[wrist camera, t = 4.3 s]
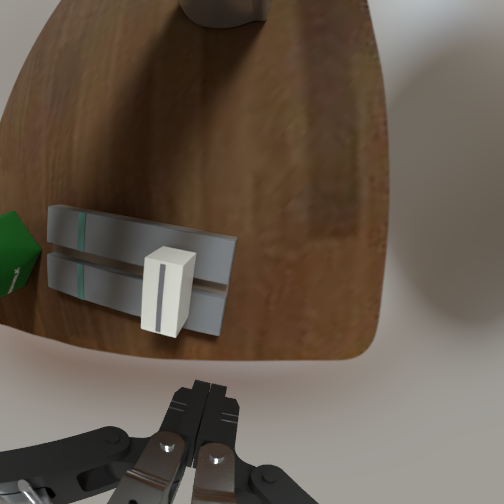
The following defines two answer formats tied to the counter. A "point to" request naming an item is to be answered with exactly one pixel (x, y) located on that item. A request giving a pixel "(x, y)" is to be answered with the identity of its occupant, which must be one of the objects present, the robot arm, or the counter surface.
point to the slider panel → (134, 261)
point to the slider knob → (167, 290)
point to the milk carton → (15, 253)
